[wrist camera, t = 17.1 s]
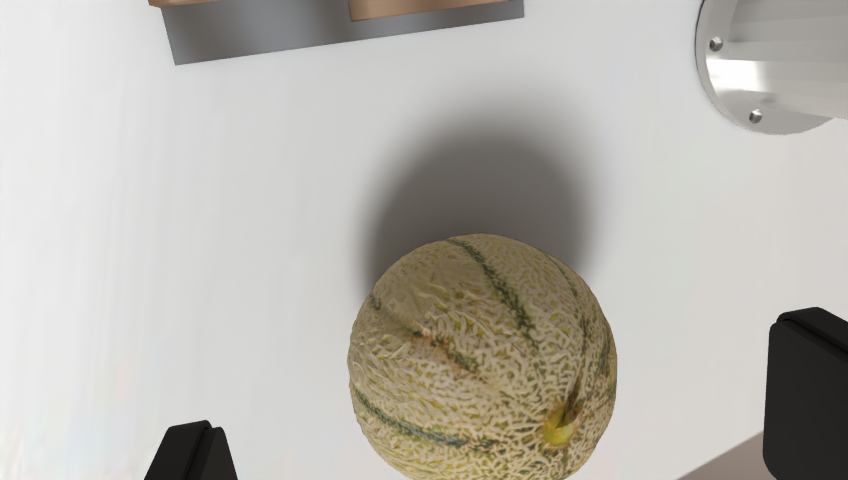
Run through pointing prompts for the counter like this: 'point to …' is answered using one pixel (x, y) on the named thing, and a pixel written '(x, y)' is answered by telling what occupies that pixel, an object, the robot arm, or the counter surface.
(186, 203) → the counter surface
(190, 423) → the robot arm
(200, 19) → the angular wooden tray
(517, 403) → the cantaloupe
